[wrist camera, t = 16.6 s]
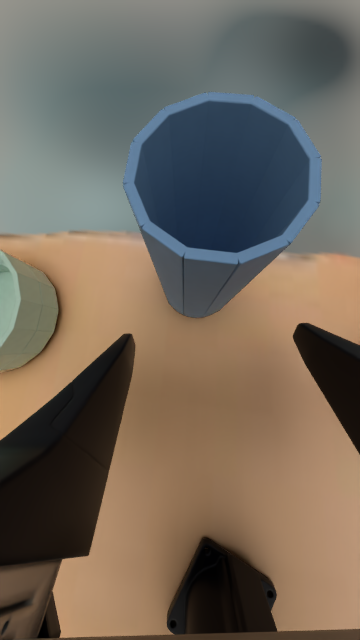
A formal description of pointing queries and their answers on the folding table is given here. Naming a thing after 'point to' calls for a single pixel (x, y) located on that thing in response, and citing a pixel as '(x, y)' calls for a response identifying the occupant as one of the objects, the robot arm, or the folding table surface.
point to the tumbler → (219, 194)
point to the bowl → (24, 311)
